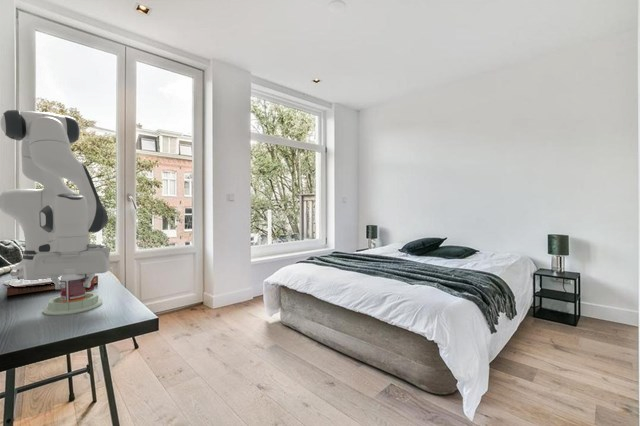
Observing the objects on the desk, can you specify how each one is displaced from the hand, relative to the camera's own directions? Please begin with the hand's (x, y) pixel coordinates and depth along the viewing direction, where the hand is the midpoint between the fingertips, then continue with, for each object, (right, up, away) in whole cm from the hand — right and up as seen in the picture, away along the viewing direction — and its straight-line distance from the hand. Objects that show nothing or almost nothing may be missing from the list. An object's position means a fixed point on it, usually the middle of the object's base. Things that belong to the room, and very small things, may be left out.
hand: (73, 288), depth 101 cm
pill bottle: (0, -5, 0) cm, 5 cm away
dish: (0, -6, 0) cm, 6 cm away
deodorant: (-12, -6, +21) cm, 25 cm away
